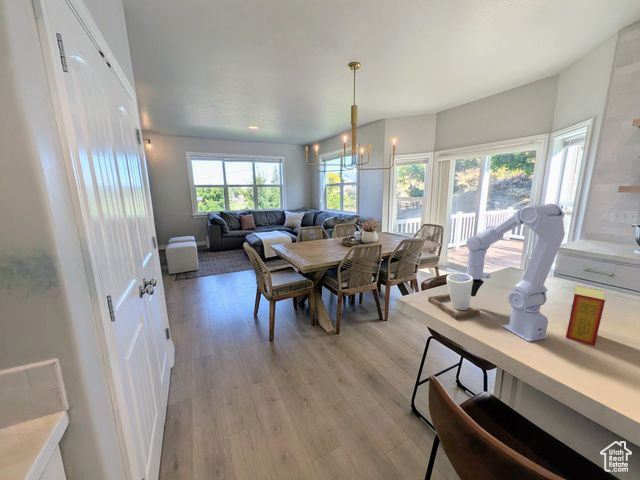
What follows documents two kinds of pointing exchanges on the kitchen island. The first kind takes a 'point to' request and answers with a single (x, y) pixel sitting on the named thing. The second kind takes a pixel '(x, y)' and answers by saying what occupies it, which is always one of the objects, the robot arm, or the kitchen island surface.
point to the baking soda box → (585, 315)
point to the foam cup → (459, 291)
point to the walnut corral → (455, 315)
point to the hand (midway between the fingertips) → (472, 295)
